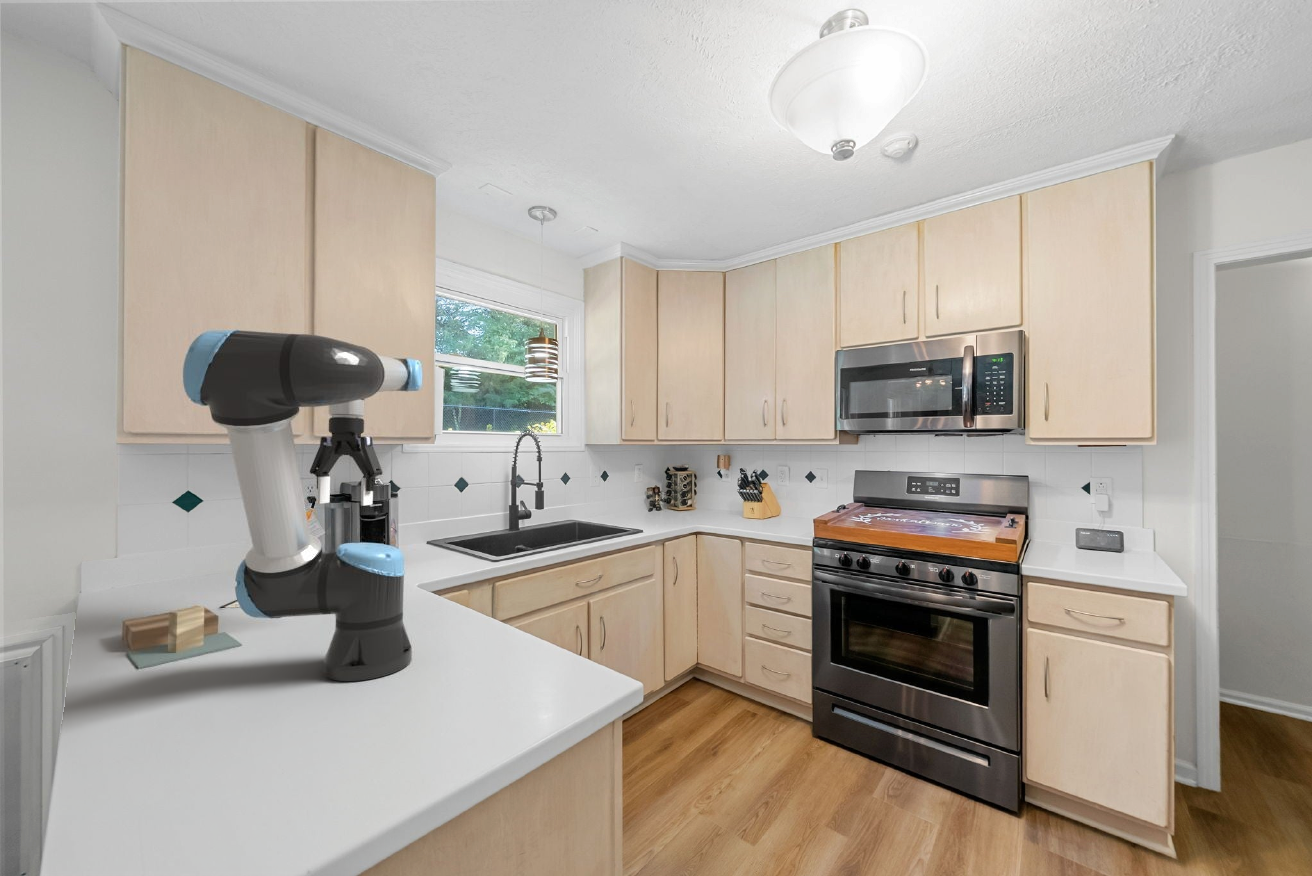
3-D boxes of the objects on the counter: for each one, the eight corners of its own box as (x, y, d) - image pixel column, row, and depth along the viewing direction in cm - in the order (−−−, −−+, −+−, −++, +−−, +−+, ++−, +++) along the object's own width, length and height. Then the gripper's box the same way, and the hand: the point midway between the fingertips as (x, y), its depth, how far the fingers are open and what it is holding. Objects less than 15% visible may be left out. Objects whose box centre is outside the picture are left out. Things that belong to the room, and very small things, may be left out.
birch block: (203, 644, 114) (204, 606, 115) (176, 652, 110) (177, 613, 110) (195, 643, 115) (196, 605, 115) (167, 651, 110) (169, 611, 111)
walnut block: (217, 633, 122) (218, 616, 122) (132, 651, 111) (133, 632, 111) (203, 623, 129) (203, 606, 130) (122, 638, 118) (122, 620, 119)
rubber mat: (241, 645, 115) (241, 643, 115) (138, 669, 102) (138, 666, 102) (224, 633, 122) (224, 631, 122) (126, 654, 110) (126, 652, 110)
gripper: (399, 417, 132) (397, 504, 131) (321, 418, 139) (319, 501, 139) (374, 415, 125) (372, 507, 124) (294, 416, 132) (292, 503, 132)
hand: (344, 504), depth 132 cm, fingers open, 13 cm apart
